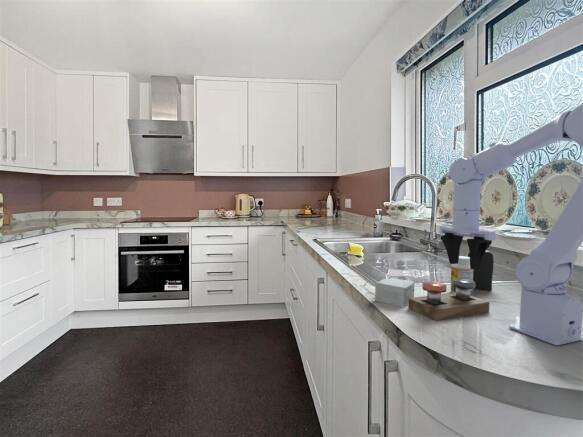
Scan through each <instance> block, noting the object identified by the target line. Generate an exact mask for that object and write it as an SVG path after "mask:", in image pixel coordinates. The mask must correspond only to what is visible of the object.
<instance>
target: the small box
mask: <svg viewBox="0 0 583 437" xmlns="http://www.w3.org/2000/svg"><path fill="white" fill-rule="evenodd" d="M374 294H375V296H374V302H376V301H378V302H377V303H381V302H382V303H381V304H386V305H391V306H397V307H401V308H404V307H406V306H407V305H409V298H415V281H413V280H412V281H411V280H405V279H400V278H395V277H386V278H384V279H381V280H379V281H378V282H376V283H375V288H374Z"/></svg>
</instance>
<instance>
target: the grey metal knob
mask: <svg viewBox="0 0 583 437" xmlns="http://www.w3.org/2000/svg"><path fill="white" fill-rule="evenodd" d="M451 285H452V286H454V287H456V298H457V299H461V300H469V299H470V296H471V294H470V289H473V288H475V281H472V280H468V279H452V281H451V280H450V286H451Z"/></svg>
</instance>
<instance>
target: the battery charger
mask: <svg viewBox="0 0 583 437" xmlns="http://www.w3.org/2000/svg"><path fill="white" fill-rule="evenodd" d="M466 257H470V252H469V251H467V254H466ZM494 266H495V256H494V253H493V252H491V251H489V250H486V252H485V254H484V256H483V259H482V261H481V264H480V267H479V269H473V281H475V288H473V289H475V290H482V291H483V290H485V291H491V290H493V276H494V269H495V268H494Z"/></svg>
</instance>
